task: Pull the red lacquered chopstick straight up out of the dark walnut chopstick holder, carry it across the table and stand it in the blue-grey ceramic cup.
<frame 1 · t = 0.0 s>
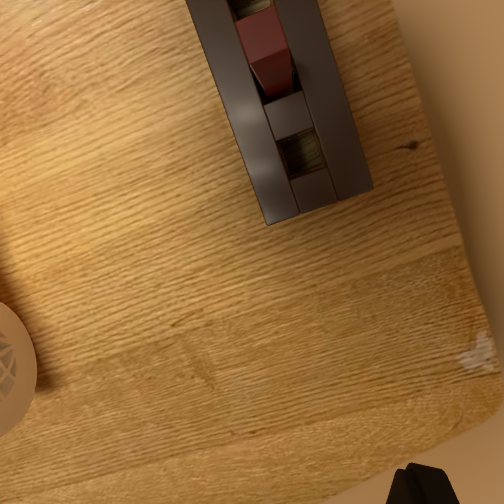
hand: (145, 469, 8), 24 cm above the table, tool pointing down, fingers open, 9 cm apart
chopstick: (273, 70, 22), in the holder
holder: (279, 88, 29), on the table
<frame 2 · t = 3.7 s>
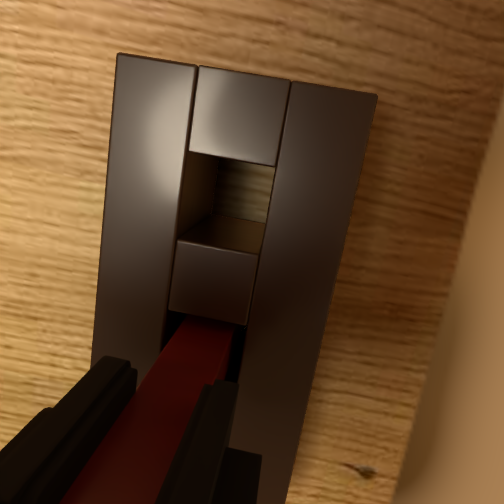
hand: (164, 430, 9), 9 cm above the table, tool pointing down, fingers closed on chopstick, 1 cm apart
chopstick: (183, 392, 11), in the holder, touching gripper
holder: (228, 299, 18), on the table
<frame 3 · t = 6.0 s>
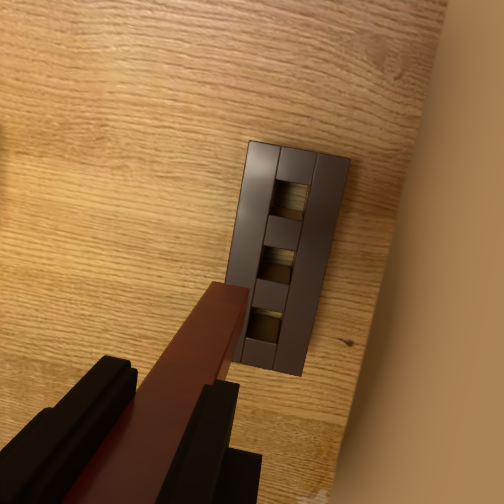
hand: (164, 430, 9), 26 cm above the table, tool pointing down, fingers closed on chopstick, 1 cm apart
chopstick: (183, 394, 11), point 24 cm above the table, touching gripper
holder: (279, 249, 35), on the table
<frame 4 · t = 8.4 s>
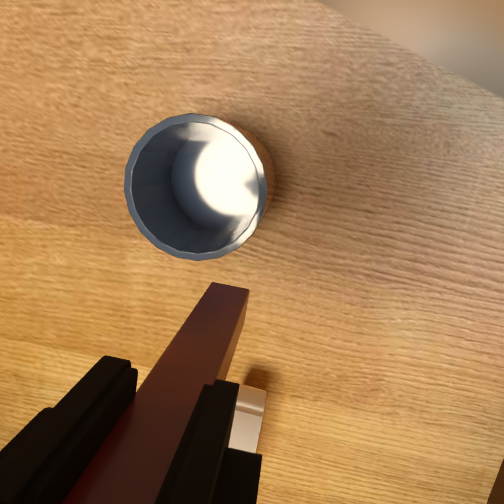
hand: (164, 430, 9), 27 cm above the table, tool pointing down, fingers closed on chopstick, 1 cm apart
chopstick: (182, 395, 11), point 26 cm above the table, touching gripper
contact lens case: (233, 464, 42), on the table
cup: (220, 180, 35), on the table
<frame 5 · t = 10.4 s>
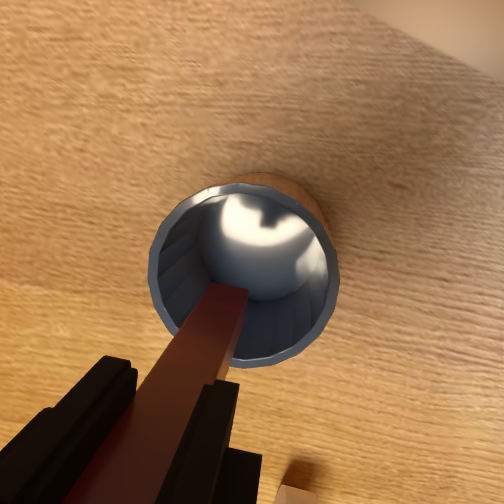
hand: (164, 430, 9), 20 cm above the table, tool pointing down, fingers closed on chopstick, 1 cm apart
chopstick: (182, 395, 11), point 18 cm above the table, touching gripper
cup: (259, 240, 29), on the table
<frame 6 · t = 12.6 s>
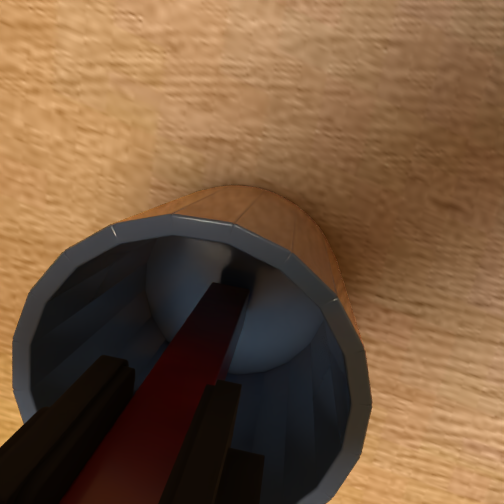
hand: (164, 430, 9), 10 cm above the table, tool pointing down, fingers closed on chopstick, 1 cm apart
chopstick: (182, 395, 11), in the cup, point 9 cm above the table, touching gripper
cup: (237, 285, 19), on the table
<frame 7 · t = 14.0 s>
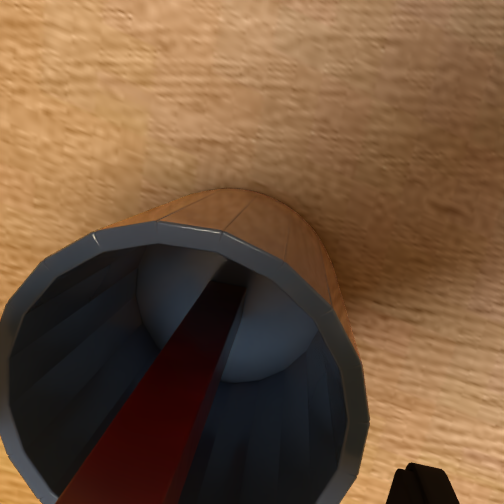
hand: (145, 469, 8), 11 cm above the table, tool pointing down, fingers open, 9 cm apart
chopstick: (181, 389, 11), in the cup, point 8 cm above the table
cup: (230, 291, 19), on the table
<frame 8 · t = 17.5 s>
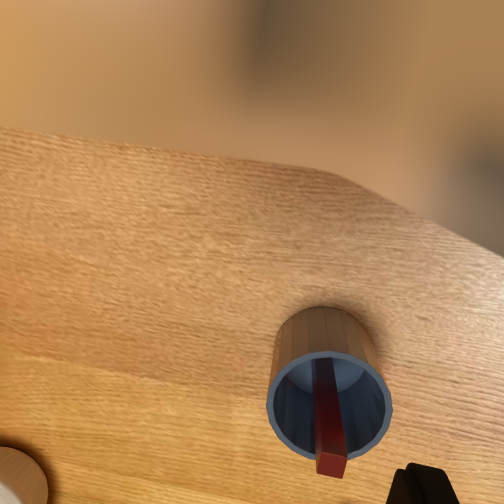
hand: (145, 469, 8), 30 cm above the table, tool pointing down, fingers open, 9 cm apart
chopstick: (325, 400, 32), in the cup, point 8 cm above the table
ramekin: (12, 479, 47), on the table
cup: (322, 352, 40), on the table
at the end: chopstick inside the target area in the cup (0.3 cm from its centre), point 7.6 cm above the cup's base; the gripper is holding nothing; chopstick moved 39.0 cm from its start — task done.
